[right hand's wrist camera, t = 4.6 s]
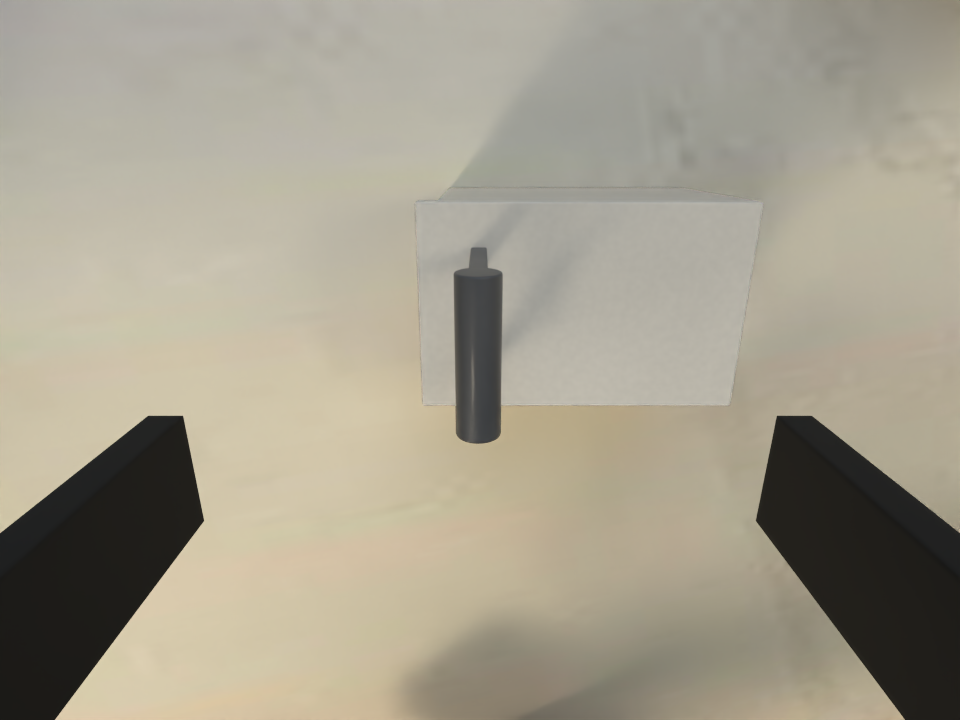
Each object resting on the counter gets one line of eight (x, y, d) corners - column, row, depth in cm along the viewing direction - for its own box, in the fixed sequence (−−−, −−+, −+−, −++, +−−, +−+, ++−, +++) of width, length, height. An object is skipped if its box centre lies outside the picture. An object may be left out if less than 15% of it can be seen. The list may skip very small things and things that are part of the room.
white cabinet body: (451, 339, 37) (442, 398, 28) (449, 187, 34) (437, 199, 25) (664, 339, 37) (722, 398, 28) (682, 187, 34) (755, 200, 25)
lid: (423, 399, 28) (403, 486, 21) (416, 200, 25) (389, 220, 17) (723, 399, 28) (810, 487, 21) (755, 200, 25) (872, 220, 17)
